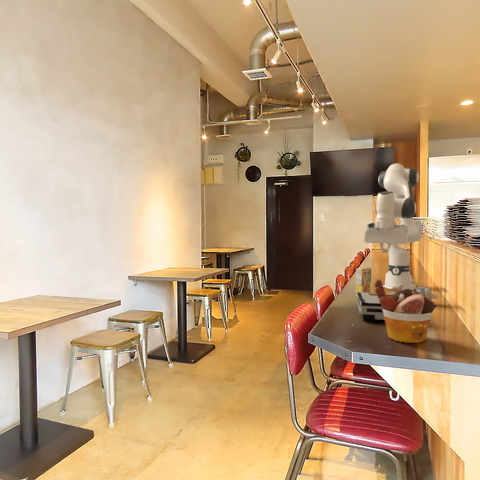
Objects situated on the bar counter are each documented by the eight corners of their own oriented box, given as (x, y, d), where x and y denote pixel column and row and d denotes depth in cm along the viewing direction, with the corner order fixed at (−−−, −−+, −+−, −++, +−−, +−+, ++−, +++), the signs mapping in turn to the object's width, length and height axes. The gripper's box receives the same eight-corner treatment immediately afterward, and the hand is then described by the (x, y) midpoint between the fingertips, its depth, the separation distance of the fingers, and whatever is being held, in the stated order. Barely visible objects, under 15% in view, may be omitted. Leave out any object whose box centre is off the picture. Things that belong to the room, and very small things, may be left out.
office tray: (403, 308, 182) (403, 291, 182) (417, 326, 151) (417, 305, 151) (356, 306, 187) (357, 289, 187) (361, 323, 156) (361, 302, 156)
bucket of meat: (436, 335, 137) (436, 279, 136) (438, 349, 122) (439, 285, 121) (375, 329, 145) (376, 276, 144) (371, 342, 130) (371, 282, 129)
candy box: (364, 294, 217) (364, 267, 217) (371, 295, 214) (371, 267, 213) (355, 296, 212) (355, 268, 211) (362, 297, 208) (362, 269, 208)
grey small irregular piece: (417, 302, 196) (417, 286, 196) (432, 304, 192) (433, 287, 191) (414, 304, 190) (414, 288, 190) (429, 306, 186) (430, 289, 186)
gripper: (409, 224, 190) (409, 253, 190) (367, 224, 202) (367, 251, 202) (406, 224, 184) (405, 253, 185) (363, 224, 197) (362, 252, 197)
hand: (385, 252), depth 194 cm, fingers closed
